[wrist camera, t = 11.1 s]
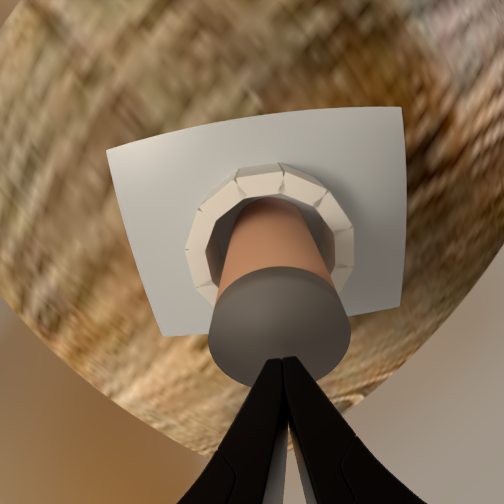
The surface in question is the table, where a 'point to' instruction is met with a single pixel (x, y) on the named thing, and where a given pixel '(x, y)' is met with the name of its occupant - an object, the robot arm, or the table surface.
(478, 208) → the table surface
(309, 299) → the plug
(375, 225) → the plate with ring collar
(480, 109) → the table surface
